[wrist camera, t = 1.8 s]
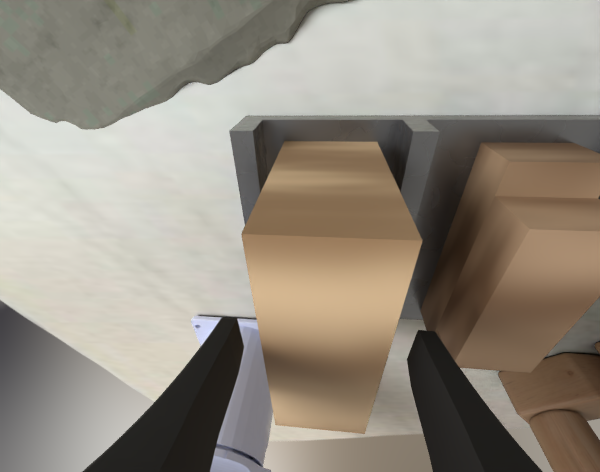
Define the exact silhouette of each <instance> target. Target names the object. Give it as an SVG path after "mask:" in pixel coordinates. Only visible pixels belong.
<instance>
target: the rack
mask: <svg viewBox="0 0 600 472" xmlns="http://www.w3.org/2000/svg"><path fill="white" fill-rule="evenodd" d="M230 137H231V143H232V149H233V155H234V161H235V167H236V173H237V179H238V185H239V191H240V198H241V204H242V210H243V216H244V222H245V225H246V223H247V221H248V219H249V217H250V214H251V212H252V210H253V208H254V206H255V204H256V202H257V199H258V197H259V195H260V193H261V191H262V189H263V186H264V184H265V182H266V180H267V178H268V176H269V173H270V171H271V169H272V167H273V165H274V163H275V160H276V158H277V156H278V154H279V152H280V150H281V148H282V145H283V143H284V141H341V142H378V145H379V147H380V149H381V151H382V153H383V155H384V158H385V160H386V162H387V164H388V166H389V169H390V171H391V173H392V175H393V177H394V179H395V182H396V184H397V186H398V188H399V190H400V193H401V195H402V197H403V199H404V201H405V203H406V206H407V208H408V210H409V212H410V214H411V217H412V219H413V221H414V223H415V225H416V227H417V230H418V232H419V234H420V236H421V238H422V244H421V248H420V251H419V254H418V258H417V261H416V264H415V268H414V271H413V274H412V278H411V281H410V284H409V288H408V291H407V294H406V298H405V301H404V304H403V308H402V311H401V314H400V318H399V319H416V320H423V317H422V314H421V311H420V310H421V308H422V305H423V302H424V299H425V297H426V294H427V291H428V288H429V286H430V283H431V280H432V277H433V274H434V272H435V269H436V266H437V263H438V261H439V258H440V255H441V252H442V250H443V247H444V244H445V241H446V239H447V236H448V233H449V230H450V228H451V225H452V222H453V219H454V216H455V214H456V211H457V208H458V205H459V203H460V200H461V197H462V194H463V192H464V189H465V186H466V183H467V181H468V178H469V175H470V172H471V170H472V167H473V164H474V161H475V158H476V156H477V153H478V150H479V147H480V145H481V142H499V143H576V144H578V145H580V146H583V147H585V148H588V149H590V150H592V151H595V152H597V153H599V154H600V115H514V116H246V117H245V118H243V119H242V120H241V121H240V122H239V123H238V124H237V125H236V126H234V127H233V128H232V129H231V130H230ZM598 199H600V196H599V198H598Z"/></svg>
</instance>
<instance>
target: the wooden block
mask: <svg viewBox="0 0 600 472" xmlns="http://www.w3.org/2000/svg"><path fill="white" fill-rule="evenodd" d="M595 348H596V350H597V351H598V353H599V354H600V342H597V343H596V344H595ZM498 375H499V378H500V380H501V382H502V384H503V386H504V388H505V390H506V392H507V394H508V396H509V398H510V400H511V402H512V404H513V406H514V408H515V410H516V412H517V414H518V415H519V416H521V417H522V418H523V419H524V420H525V421H526V422H527V423H528V424H529V425H530V427H531V429H532V431H533V433H534V435H535V437H536V439H537V440H538V442H539V444H540V446H541V448H542V450H543V452H544V454H545V456H546V458H547V460H548V462H549V464H550V466H551V468H552V469H553V471H554V472H600V440H599V439H598V437H597V436H596V434H595V433H594V431H593V430H592V428H591V427H590V425H589V424H588V422H587V421H588V420H594V419H599V418H600V356H598V355H589V354H576V353H562V354H559V355H555V356H552V357H549V358H545V359H543V360H542V361H541V362H540V363H539V364H538V365H537V366H536V367H535V368H534V370H533V371H532V372H531V373H526V372H513V371H501V372H499V373H498Z"/></svg>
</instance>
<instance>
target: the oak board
mask: <svg viewBox="0 0 600 472" xmlns="http://www.w3.org/2000/svg"><path fill="white" fill-rule="evenodd" d="M242 240H243V246H244V251H245V257H246V262H247V268H248V274H249V279H250V285H251V290H252V296H253V302H254V307H255V313H256V318H257V324H258V330H259V335H260V341H261V346H262V352H263V358H264V363H265V369H266V374H267V380H268V385H269V391H270V397H271V402H272V408H273V413H274V419H275V425H280V426H291V427H301V428H311V429H321V430H331V431H341V432H352V433H362V434H365V431H366V427H367V424H368V421H369V417H370V414H371V411H372V407H373V404H374V401H375V397H376V394H377V391H378V388H379V384H380V381H381V378H382V374H383V371H384V368H385V364H386V361H387V358H388V354H389V351H390V348H391V344H392V341H393V338H394V334H395V331H396V328H397V324H398V321H399V318H400V314H401V311H402V308H403V304H404V301H405V298H406V294H407V291H408V288H409V284H410V281H411V278H412V274H413V271H414V268H415V264H416V261H417V258H418V254H419V251H420V248H421V244H422V238H421V236H420V234H419V232H418V230H417V227H416V225H415V223H414V221H413V219H412V217H411V214H410V212H409V210H408V208H407V206H406V203H405V201H404V199H403V197H402V195H401V193H400V190H399V188H398V186H397V184H396V182H395V179H394V177H393V175H392V173H391V171H390V169H389V166H388V164H387V162H386V160H385V158H384V155H383V153H382V151H381V149H380V147H379V145H378V142H341V141H284V143H283V145H282V148H281V150H280V152H279V154H278V156H277V158H276V160H275V163H274V165H273V167H272V169H271V171H270V173H269V176H268V178H267V180H266V182H265V184H264V186H263V189H262V191H261V193H260V195H259V197H258V199H257V202H256V204H255V206H254V208H253V210H252V212H251V214H250V217H249V219H248V221H247V223H246V225H245V227H244V230H243V232H242Z"/></svg>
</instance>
